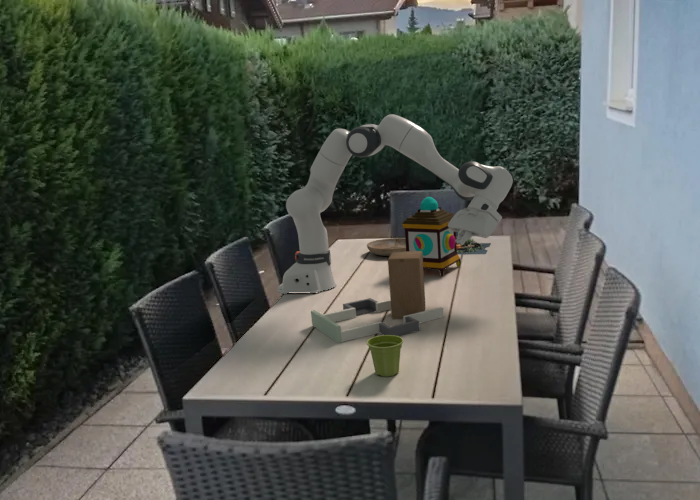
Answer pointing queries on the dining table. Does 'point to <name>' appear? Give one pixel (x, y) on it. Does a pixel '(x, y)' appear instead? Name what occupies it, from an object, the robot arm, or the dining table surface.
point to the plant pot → (385, 354)
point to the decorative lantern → (432, 236)
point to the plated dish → (472, 247)
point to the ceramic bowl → (387, 246)
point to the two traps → (397, 330)
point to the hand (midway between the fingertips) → (458, 243)
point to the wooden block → (406, 283)
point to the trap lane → (334, 330)
